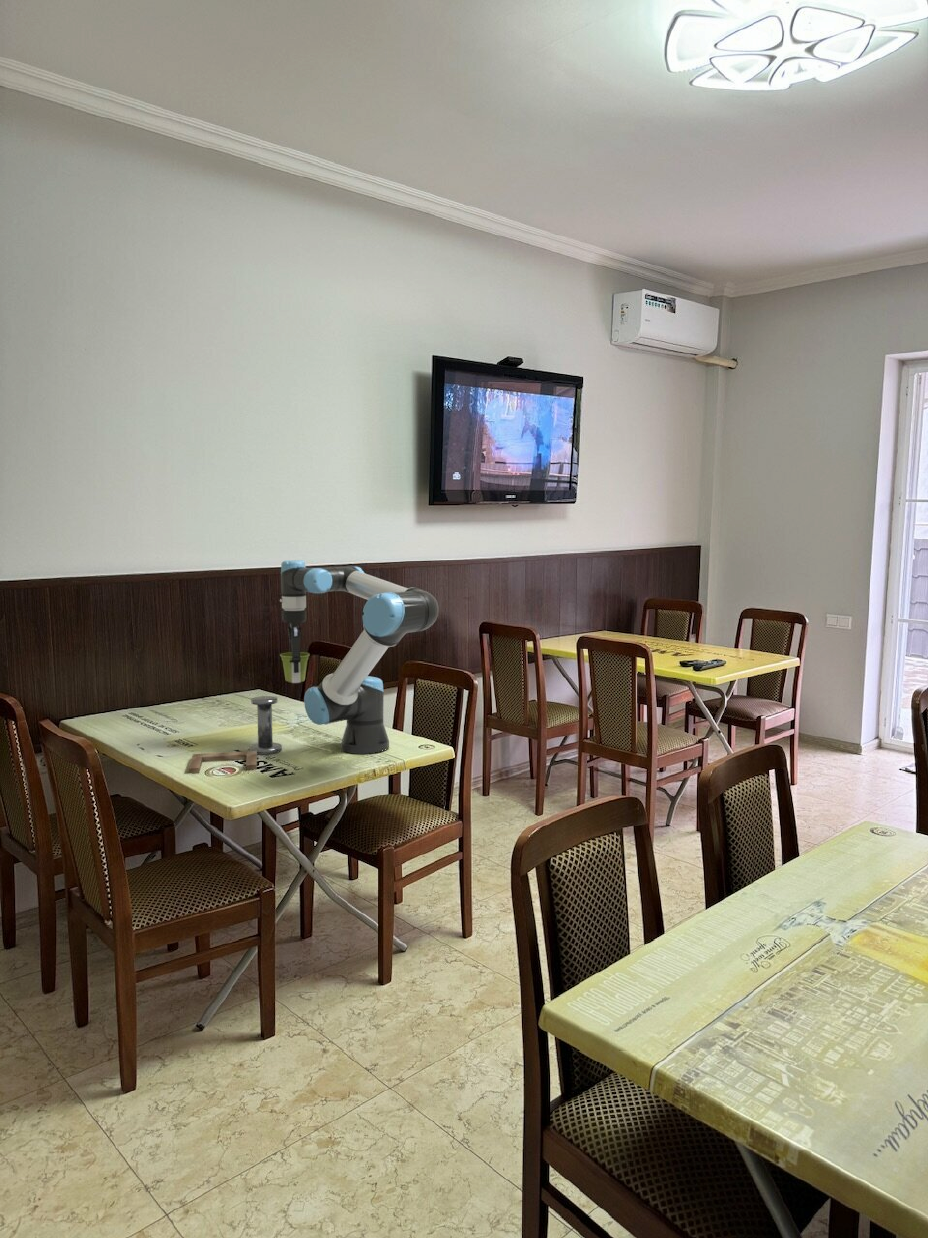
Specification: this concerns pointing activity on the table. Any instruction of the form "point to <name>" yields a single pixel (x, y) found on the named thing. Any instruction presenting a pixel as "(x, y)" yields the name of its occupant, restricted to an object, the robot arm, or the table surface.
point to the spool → (265, 726)
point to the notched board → (223, 759)
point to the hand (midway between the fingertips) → (295, 680)
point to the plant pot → (288, 668)
